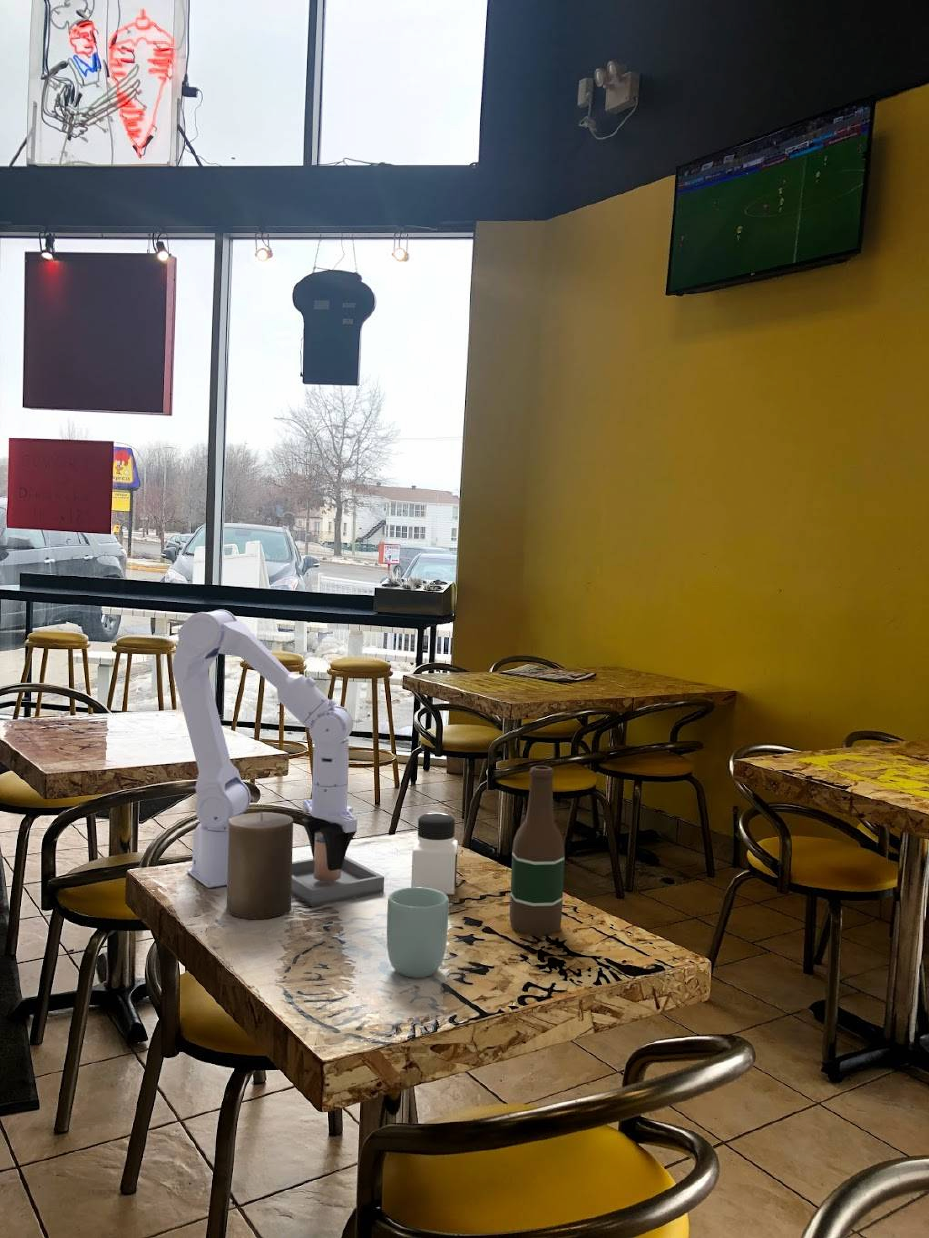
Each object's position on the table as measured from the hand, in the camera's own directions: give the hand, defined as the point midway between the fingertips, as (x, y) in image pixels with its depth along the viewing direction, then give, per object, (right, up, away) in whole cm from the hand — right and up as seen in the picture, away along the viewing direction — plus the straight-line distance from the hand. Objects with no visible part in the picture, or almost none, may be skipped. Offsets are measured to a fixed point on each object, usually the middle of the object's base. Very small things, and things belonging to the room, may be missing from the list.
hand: (327, 865), depth 162 cm
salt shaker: (0, -2, 0) cm, 2 cm away
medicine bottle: (+17, -4, +2) cm, 18 cm away
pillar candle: (-9, -4, -11) cm, 15 cm away
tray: (0, -4, 0) cm, 3 cm away
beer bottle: (+33, -6, -14) cm, 36 cm away
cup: (+16, -6, -31) cm, 36 cm away
